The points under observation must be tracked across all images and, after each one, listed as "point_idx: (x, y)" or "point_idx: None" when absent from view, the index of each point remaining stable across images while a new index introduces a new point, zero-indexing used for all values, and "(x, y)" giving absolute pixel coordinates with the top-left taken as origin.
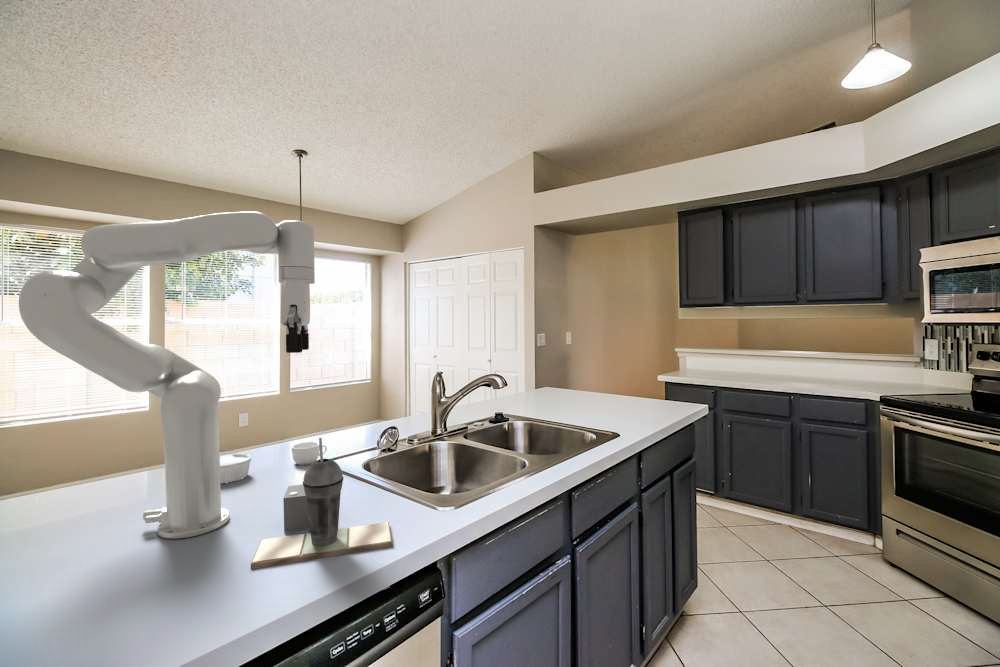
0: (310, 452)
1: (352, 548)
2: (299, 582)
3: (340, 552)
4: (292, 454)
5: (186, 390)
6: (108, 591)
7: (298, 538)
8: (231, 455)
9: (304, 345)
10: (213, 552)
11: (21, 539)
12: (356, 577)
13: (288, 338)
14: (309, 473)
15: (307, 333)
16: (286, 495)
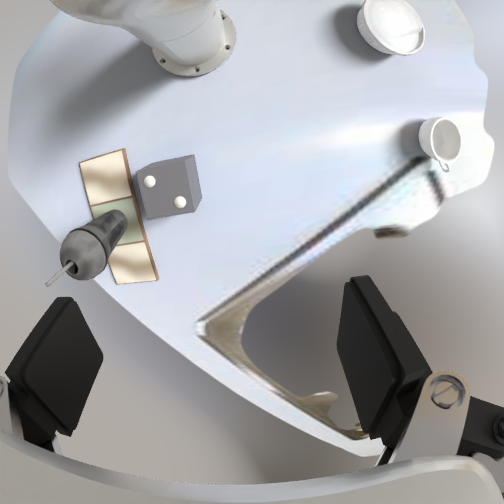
0: (427, 148)
1: None
2: (64, 215)
3: None
4: (435, 117)
5: None
6: (66, 56)
7: (120, 192)
8: (418, 27)
9: (346, 351)
10: (114, 103)
11: None
12: None
13: (26, 364)
14: (61, 247)
15: (372, 434)
16: (145, 172)
